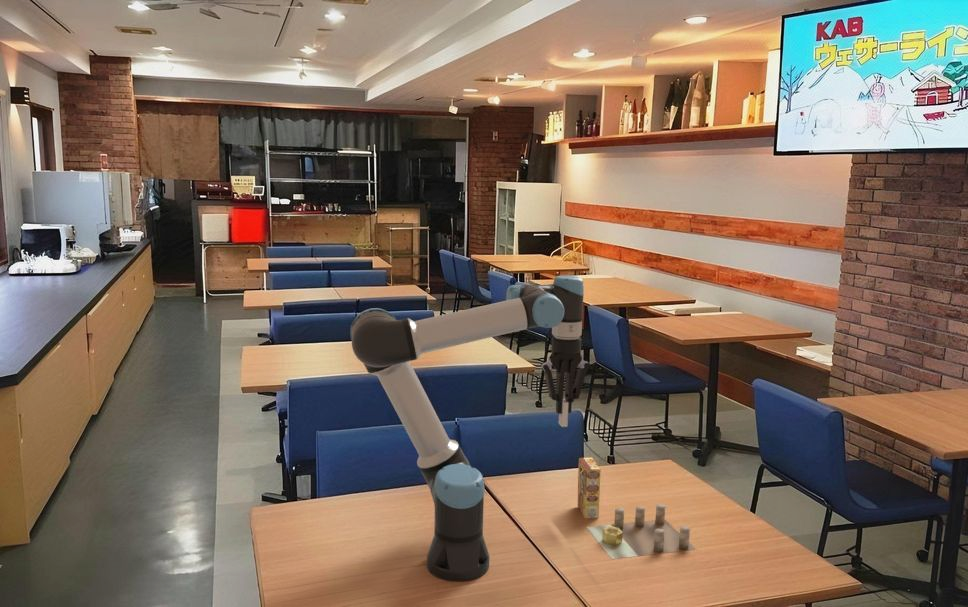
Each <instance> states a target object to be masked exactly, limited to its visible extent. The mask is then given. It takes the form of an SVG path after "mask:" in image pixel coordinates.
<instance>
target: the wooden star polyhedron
mask: <svg viewBox="0 0 968 607" xmlns="http://www.w3.org/2000/svg"><path fill="white" fill-rule="evenodd" d="M622 535H623V532H622V531H621V530H620V529H619V528H616V527H610V526H608V527H606V528H604V529H603V533H602V540H603V541H604V542H605V544H607V545H614V546H617V545H619V544H620V543H622Z"/></svg>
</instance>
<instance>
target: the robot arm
mask: <svg viewBox="0 0 968 607" xmlns="http://www.w3.org/2000/svg"><path fill="white" fill-rule="evenodd" d="M584 292H585V291H584V280H583V279H582V277H579V276H575V275H557V276H555V277H554V279H553V282H552V283H550V284H523V283H520V284H511V285H509V286H508V288H507V289H506V296H505V300H502V301H499V302H495V303H489V304H486V305H480V306H476V307H472V308H467V309H464V310H463V309H462V310H459V311H454V312H449V313H445V314H441V315H436V316H432V317H428V318H423V319H418V320H412V319H411V318H410V317H407V318H403V319H396V317H395V316H394V315H393V314H392V313H391V312H389V311H387V310H385V309H382V308H378V307H377V308H376V307H375V308H368V309H366V310H363V311H361V312H360V313H358V315H357V316H356V317H355V318H354V320H353V322H352V323H351V325H350V330H349V335H350V339H351V347H352V348H351V349H352V351H353V354H354V355H355V357H356V359H358V361H359V362H361V363H363V365H364V368H365V369H366V371H367V373H368V374H369V375H372V376H376V377H377V378H378V380H379V382H380V384H381V386H382V388H383V389H384V391H385V393H386V395H387V397H388V399H389V401H390V402H391V405H392V407H393V408H394V411H395V412H396V414H397V416H398V418H399V420H400V421H401V424H402V425H403V427H404V429H405V431H406V433H407V435H408V437H409V439H410V440H411V443H412V445H413V446H414V448H415V450H416V451H417V454H418V458H417V461H416V464H417V467H418V469H419V471H420V473H421V474H422V476H423V479H424V480H425V482H426V484H427V486H428V488H429V490H430V495H431V497H432V501H433V505H434V534H433V535H434V536H433V537H432V540H431V543H430V545H429V549H428V551H427V553H426V554H427V555H426V568H427V570H428V572H429V573H430V574H431V575H433V576H435V577H437V578H439V579H442V580H444V581H445V580H446V581H452V582H466V581H471V580H475V579H478V578H480V577H482V576H484V575H485V573H487V572H488V570H489V569H490V552H489V550H488V547H487V544H486V540H485V537H484V529H483V528H484V500H485V499H484V497H485V495H484V494H485V488H486V487H485V483H484V482H485V481H484V477H483V474H482V473H481V471H479V469H477V468H475V467H472V466H471V463H470V462H469V460H468V458H467V457H466V456H465V454H464V452H463V450H462V448H461V446H460V444H459V443H458V441H456V439H450V438H449V436H448V434H447V432H446V430H445V428H444V426H443V424H442V422H441V420H440V418H439V416H438V415H437V413H436V411H435V409H434V407H433V405H432V403H431V401H430V399H429V397H428V395H427V393H426V391H425V389H424V387H423V385H422V383H421V381H420V379H419V377H418V375H417V374H416V372H415V370H414V368H413V366H412V364H411V362H412V361H416V360H418V359H419V358H420V357H421V355H423V354H427V353H430V352H434V351H439V350H443V349H447V348H451V347H456V346H460V345H465V344H468V343H474V342H476V341H477V342H478V341H481V340H486V339H489V338H494V337H498V336H502V335H507V334H511V333H516V332H519V331H524V330H528V329H533V328H537V327H541V328H545V329H551V334H552V337H551V350H550V351H551V353H550V356H549V359H548V360H547V361H546V362H540V368H541V369H542V370H543V372H544V377H545V383H546V387H547V388H546V389H547V392H548V396H549V398H550V399H552V401H555V412H556V414H558V425H560V426H561V427H562V428H568V423H569V422H568V420H569V414H571V413H572V406H573V405H572V403H574V400H578V399H580V395H581V392H582V389H583V384H584V381H585V378H586V373H587V372H588V370H589V369H590V366H591V364H590V363H589V362H588V361H586V360H584V359H583V357H582V354H581V352H582V338H581V336H582V333H583V332H582V331H583V310H584V309H583V307H584V296H585V293H584ZM552 367H553V368H554V369H555V374H556V377H555V378H556V381H555V383H554V377H553V373H552V369H553V368H552ZM577 368H578V370H577V373H576V376H575V371H576V369H577ZM574 377H575V380H574ZM564 386H565V387H564ZM564 390H565V391H564Z"/></svg>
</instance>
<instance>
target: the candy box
mask: <svg viewBox="0 0 968 607" xmlns="http://www.w3.org/2000/svg"><path fill="white" fill-rule="evenodd" d="M601 469H602V468H600V466H599V465H598V464H597V463H596V461H595V459H594V458H593V457H579V458H578V469H577V470H578V473H577V474H578V477H577V478H578V479H577V505H576V506H577V509H579V511H580V513H581V515H582V516H583V517H584V519H599V517H600V516H599V515H600V494H601V487H600V486H601V471H602V470H601Z"/></svg>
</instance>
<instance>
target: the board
mask: <svg viewBox="0 0 968 607" xmlns="http://www.w3.org/2000/svg"><path fill="white" fill-rule="evenodd" d="M645 513H646V508H645V507H644V506H643V505H636V506H635V517H634V521H633V522H631V521H630V522H625V509H624V508H621V507H616V508H615V509H614V524H613V523H612V524H605V525H603V524H602V525H594V526H586V529H587V531H588V532H590V534H591V535H592V536H593V537H594V539H595V540H596V541H597V543H598V544H599V545H600V546H601V547H602V548H603V550H604V551H605V552H606V554H607V555H608V556H609V558H610V559H611V560H617V559H624V558H635V557H643V556H644V557H645V556H652V555H653V556H654V555H660V554H670V553H679V552H688V551H696V550H698V549H697V548H696V547H695V546H694V545H692V544H691V543H690V533H691V532H690V531H691V528H690V527H688V526H685V525H681V526H680V527H679V531H678V530H677V529H676V528H675V527H673V525H672V524H670V523H669V522H668V520H666V505H664V504H662V503H658V504H656V507H655V519H653V520H645ZM608 526H610V527H616V528H619V529H620V530H621V531H622V532H623V535H622V543H620V544H619V545H617V546H614V545H607V544H605V542H604V541H603V540H602V533H603V529H604V528H606V527H608Z"/></svg>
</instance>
